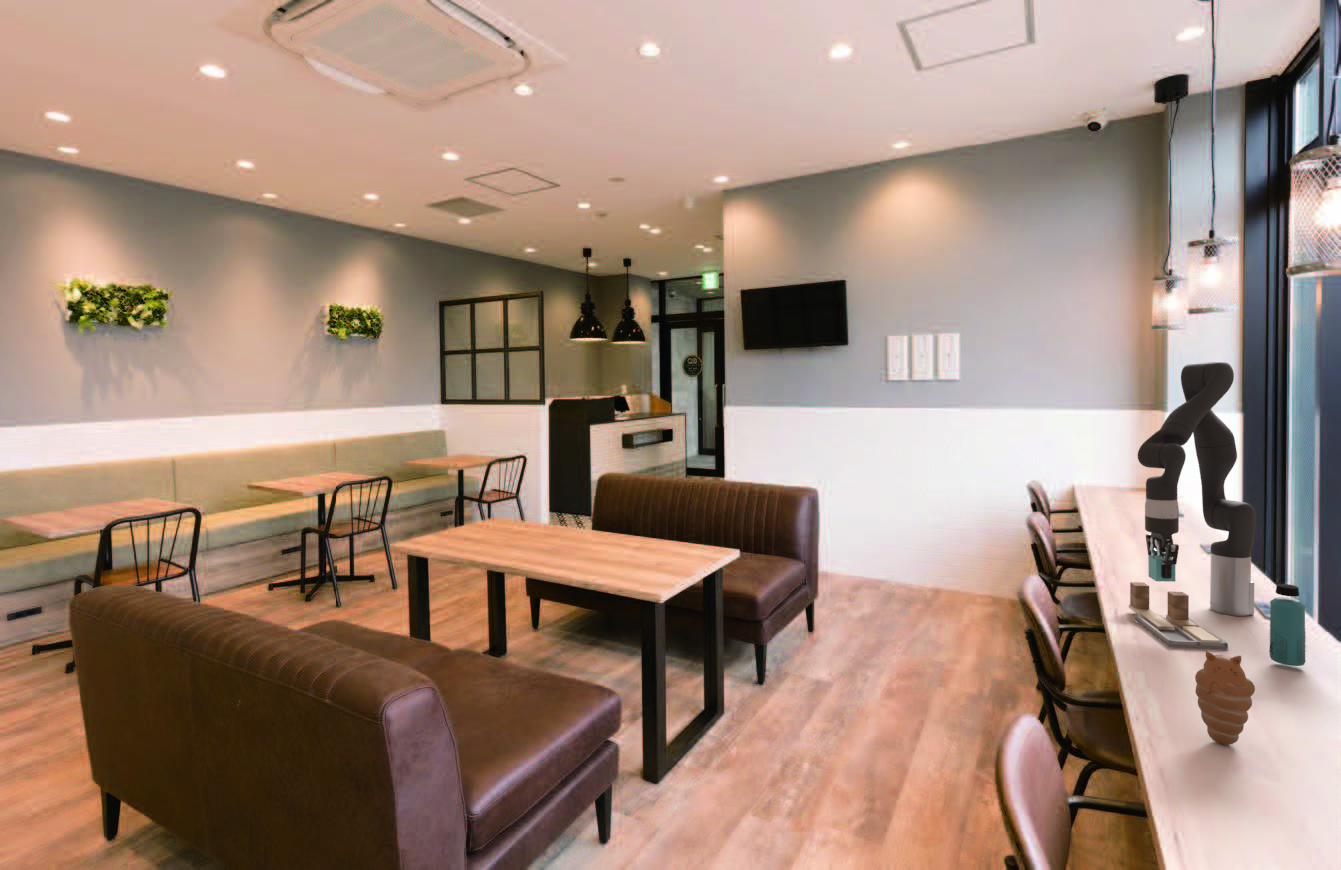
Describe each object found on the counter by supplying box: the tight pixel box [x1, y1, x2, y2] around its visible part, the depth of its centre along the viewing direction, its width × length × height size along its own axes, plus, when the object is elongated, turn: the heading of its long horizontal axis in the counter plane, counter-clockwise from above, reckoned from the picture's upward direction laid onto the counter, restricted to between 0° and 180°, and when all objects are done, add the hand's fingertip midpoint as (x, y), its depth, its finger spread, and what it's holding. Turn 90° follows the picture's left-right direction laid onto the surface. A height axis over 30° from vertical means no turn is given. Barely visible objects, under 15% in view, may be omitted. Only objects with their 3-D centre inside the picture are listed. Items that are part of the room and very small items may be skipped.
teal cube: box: [1147, 555, 1176, 583], centre depth 185 cm, size 5×5×6 cm
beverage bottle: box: [1268, 583, 1307, 667], centre depth 160 cm, size 6×7×20 cm
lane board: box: [1134, 613, 1229, 651], centre depth 183 cm, size 13×21×2 cm, turn 166°
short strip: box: [1165, 591, 1197, 628], centre depth 188 cm, size 4×8×8 cm, turn 166°
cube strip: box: [1128, 581, 1175, 630], centre depth 192 cm, size 4×19×8 cm, turn 166°
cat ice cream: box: [1194, 650, 1256, 746], centre depth 128 cm, size 9×8×18 cm
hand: (1161, 575), depth 186 cm, fingers closed on teal cube, 4 cm apart
